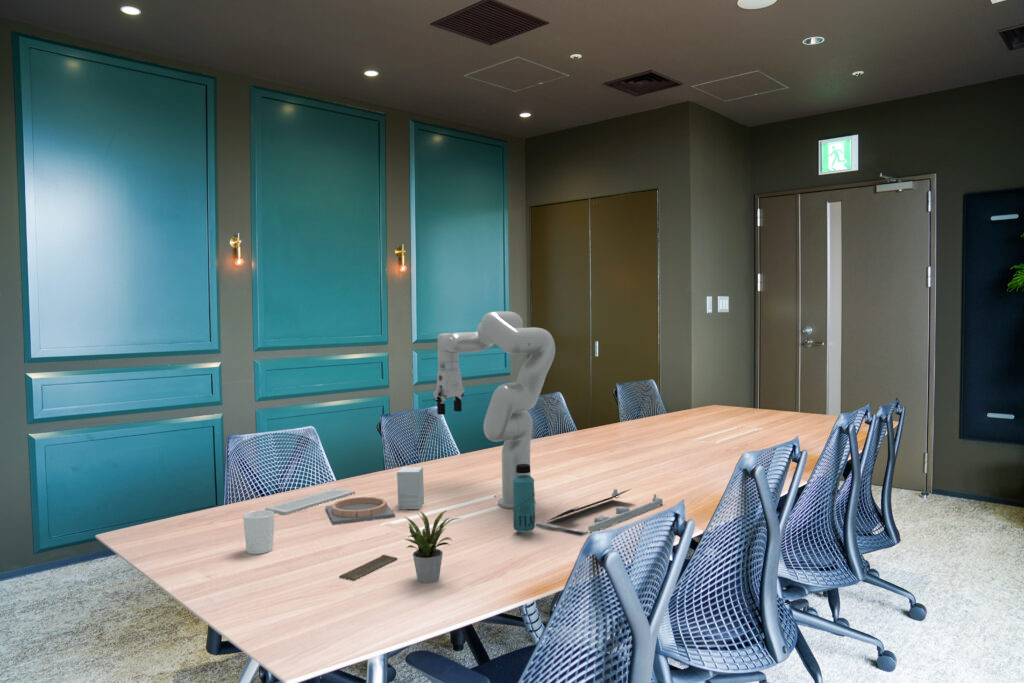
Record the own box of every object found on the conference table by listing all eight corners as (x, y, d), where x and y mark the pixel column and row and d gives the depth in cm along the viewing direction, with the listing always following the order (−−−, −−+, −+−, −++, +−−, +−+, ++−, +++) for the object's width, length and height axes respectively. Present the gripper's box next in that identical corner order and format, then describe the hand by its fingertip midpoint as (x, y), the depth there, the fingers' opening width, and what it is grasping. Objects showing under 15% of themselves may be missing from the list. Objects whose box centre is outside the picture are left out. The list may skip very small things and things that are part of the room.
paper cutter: (662, 506, 224) (662, 489, 224) (578, 539, 191) (578, 520, 191) (616, 497, 236) (616, 481, 236) (530, 527, 204) (530, 508, 204)
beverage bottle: (516, 538, 192) (515, 467, 192) (510, 531, 199) (509, 463, 198) (538, 535, 194) (537, 466, 193) (531, 529, 200) (530, 461, 200)
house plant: (464, 566, 171) (463, 501, 170) (462, 588, 157) (461, 517, 156) (407, 568, 170) (405, 503, 170) (400, 590, 156) (398, 519, 156)
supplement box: (424, 504, 230) (423, 466, 230) (419, 510, 223) (418, 471, 222) (403, 503, 231) (402, 466, 230) (397, 509, 223) (396, 471, 223)
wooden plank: (354, 578, 162) (338, 573, 165) (354, 583, 162) (338, 578, 165) (398, 557, 177) (383, 553, 179) (397, 562, 177) (382, 558, 179)
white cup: (265, 543, 191) (264, 508, 191) (280, 549, 186) (279, 513, 186) (238, 551, 185) (237, 514, 185) (254, 557, 180) (253, 519, 180)
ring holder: (395, 517, 215) (394, 507, 215) (333, 524, 208) (333, 514, 208) (383, 502, 233) (382, 493, 233) (325, 509, 226) (325, 500, 225)
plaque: (285, 512, 219) (265, 508, 225) (285, 516, 219) (265, 512, 225) (354, 491, 245) (335, 488, 250) (355, 495, 245) (335, 492, 250)
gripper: (441, 368, 242) (442, 416, 242) (470, 365, 256) (471, 410, 257) (425, 367, 246) (426, 415, 246) (454, 364, 260) (456, 409, 261)
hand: (449, 412), depth 252 cm, fingers open, 9 cm apart
